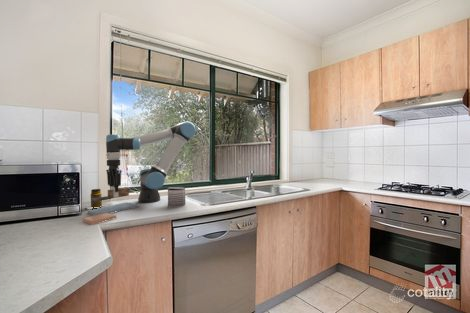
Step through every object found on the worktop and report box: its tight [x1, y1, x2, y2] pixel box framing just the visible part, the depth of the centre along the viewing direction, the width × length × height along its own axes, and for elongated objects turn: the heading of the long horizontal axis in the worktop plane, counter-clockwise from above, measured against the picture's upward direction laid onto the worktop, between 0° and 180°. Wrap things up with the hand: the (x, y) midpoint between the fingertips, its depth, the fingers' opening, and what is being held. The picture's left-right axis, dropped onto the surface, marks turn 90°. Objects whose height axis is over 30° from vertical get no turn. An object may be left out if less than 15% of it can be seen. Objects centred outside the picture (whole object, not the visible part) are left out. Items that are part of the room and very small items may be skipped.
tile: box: [82, 213, 117, 226], centre depth 120 cm, size 2×10×12 cm
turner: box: [90, 187, 130, 202], centre depth 140 cm, size 21×6×5 cm, turn 146°
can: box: [167, 186, 186, 208], centre depth 150 cm, size 11×11×12 cm
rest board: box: [87, 202, 138, 216], centre depth 141 cm, size 24×13×2 cm, turn 147°
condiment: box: [90, 188, 103, 208], centre depth 148 cm, size 7×8×12 cm
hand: (114, 196), depth 142 cm, fingers closed on turner, 3 cm apart
